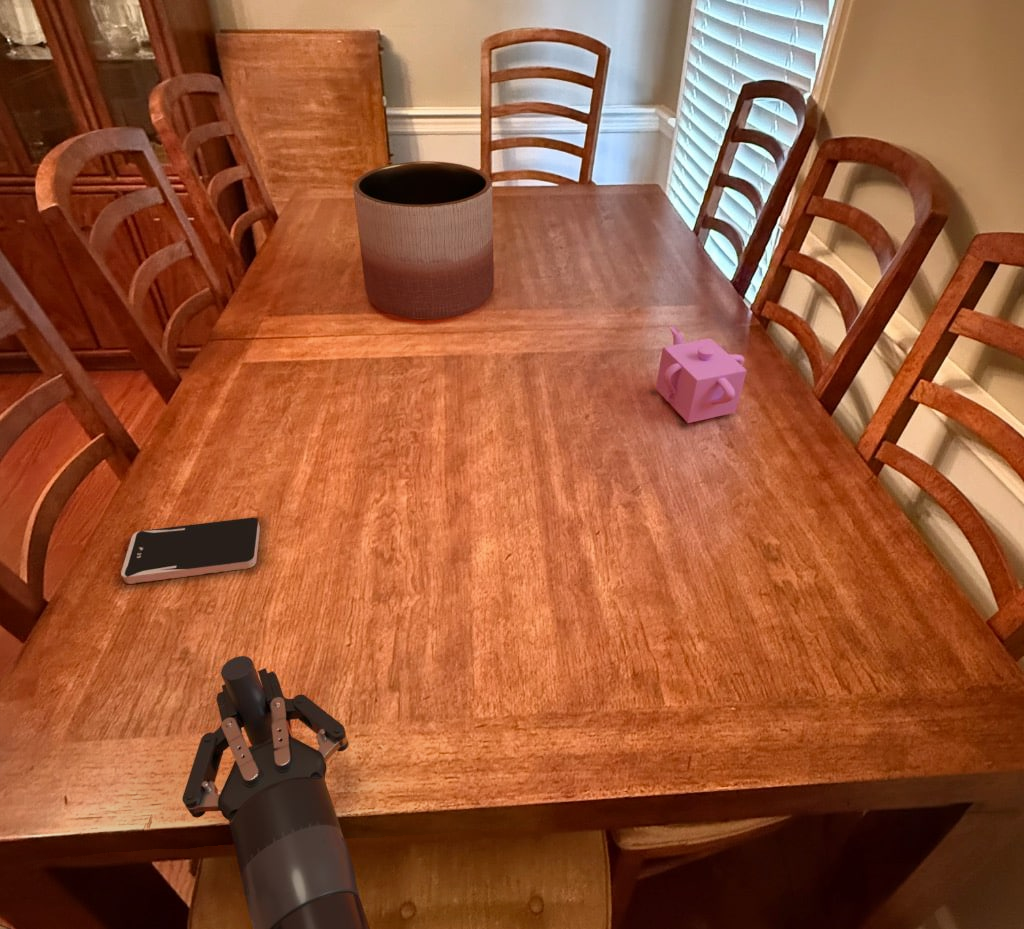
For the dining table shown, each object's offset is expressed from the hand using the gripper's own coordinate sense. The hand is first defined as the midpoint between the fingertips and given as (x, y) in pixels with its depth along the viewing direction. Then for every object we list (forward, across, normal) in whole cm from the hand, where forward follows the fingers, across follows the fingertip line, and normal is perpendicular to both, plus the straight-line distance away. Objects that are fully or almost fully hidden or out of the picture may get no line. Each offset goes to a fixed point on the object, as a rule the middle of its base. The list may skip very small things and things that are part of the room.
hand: (245, 682), depth 64 cm
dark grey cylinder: (-4, 0, +7) cm, 8 cm away
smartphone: (+27, +2, +8) cm, 28 cm away
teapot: (+24, -74, +8) cm, 78 cm away
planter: (+78, -51, +7) cm, 93 cm away
